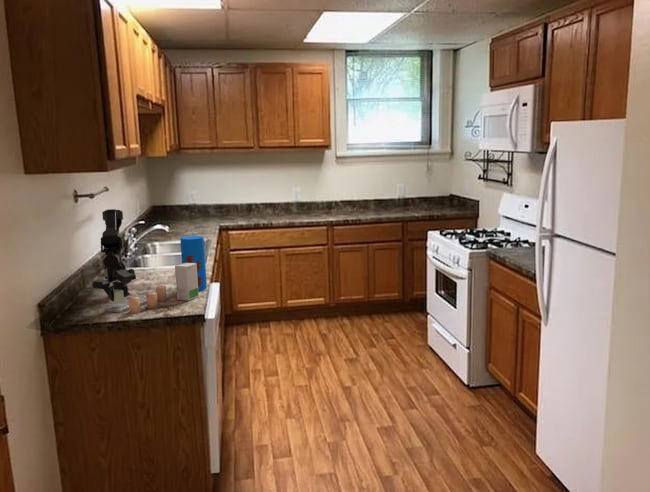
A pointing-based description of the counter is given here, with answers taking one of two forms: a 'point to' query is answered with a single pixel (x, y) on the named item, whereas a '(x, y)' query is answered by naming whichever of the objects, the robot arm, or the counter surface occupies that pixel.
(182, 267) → the skincare box
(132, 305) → the peach colored egg
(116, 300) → the pale green block
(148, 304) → the salmon pink egg
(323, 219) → the counter surface
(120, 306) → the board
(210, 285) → the counter surface
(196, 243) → the thermos
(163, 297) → the glossy pink ovoid
